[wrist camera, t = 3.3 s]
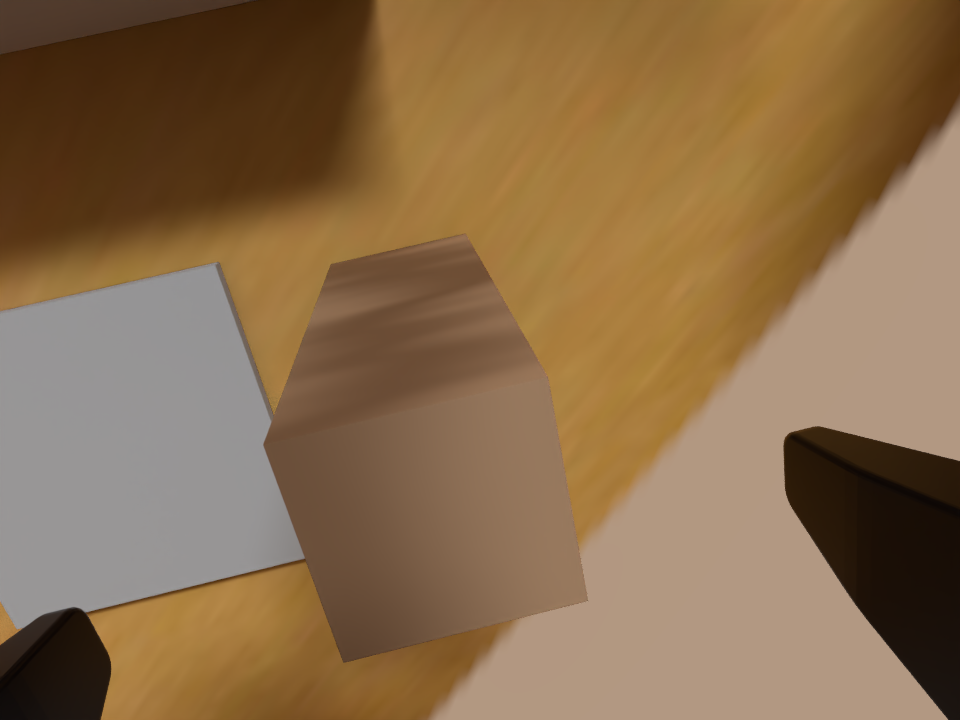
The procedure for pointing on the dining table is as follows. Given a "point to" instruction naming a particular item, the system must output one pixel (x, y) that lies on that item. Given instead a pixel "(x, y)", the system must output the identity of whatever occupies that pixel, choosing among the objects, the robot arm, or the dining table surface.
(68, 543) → the mat
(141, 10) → the box
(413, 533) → the brown rectangular block
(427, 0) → the dining table surface
